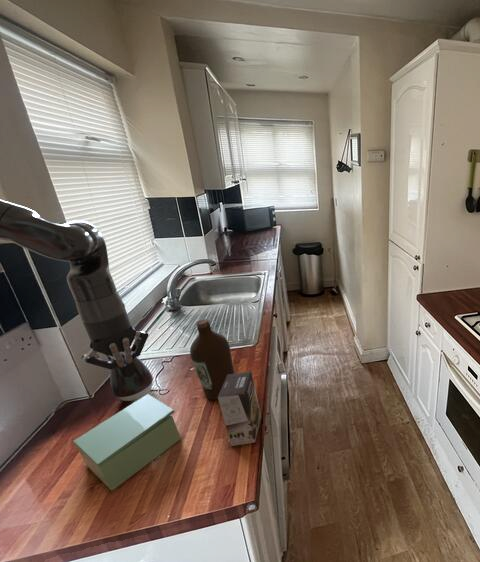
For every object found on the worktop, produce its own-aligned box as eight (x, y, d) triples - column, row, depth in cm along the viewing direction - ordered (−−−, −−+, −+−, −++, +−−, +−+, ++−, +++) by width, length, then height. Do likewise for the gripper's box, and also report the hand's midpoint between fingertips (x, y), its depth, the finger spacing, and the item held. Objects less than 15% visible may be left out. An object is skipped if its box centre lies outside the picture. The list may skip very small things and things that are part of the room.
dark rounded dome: (125, 411, 91) (107, 370, 85) (112, 398, 96) (93, 358, 91) (162, 390, 99) (148, 351, 93) (148, 379, 104) (133, 341, 98)
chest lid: (149, 395, 85) (147, 393, 84) (174, 412, 79) (173, 409, 78) (74, 443, 72) (73, 441, 71) (99, 467, 66) (97, 464, 66)
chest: (155, 421, 87) (146, 400, 84) (180, 438, 81) (172, 416, 78) (87, 466, 75) (74, 443, 72) (111, 491, 69) (99, 467, 66)
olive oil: (226, 374, 105) (209, 309, 96) (245, 385, 100) (229, 318, 90) (196, 393, 97) (174, 324, 88) (215, 406, 92) (193, 335, 82)
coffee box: (256, 442, 80) (244, 394, 73) (230, 446, 79) (216, 398, 73) (262, 415, 88) (252, 370, 82) (238, 419, 87) (226, 373, 81)
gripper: (129, 298, 75) (150, 357, 81) (57, 322, 64) (88, 388, 71) (145, 304, 71) (166, 365, 78) (72, 331, 61) (103, 399, 67)
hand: (129, 376), depth 74 cm, fingers closed
